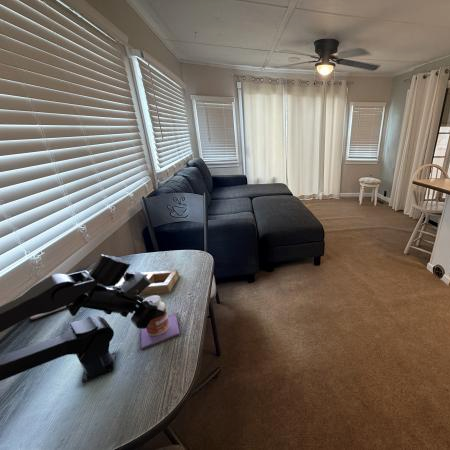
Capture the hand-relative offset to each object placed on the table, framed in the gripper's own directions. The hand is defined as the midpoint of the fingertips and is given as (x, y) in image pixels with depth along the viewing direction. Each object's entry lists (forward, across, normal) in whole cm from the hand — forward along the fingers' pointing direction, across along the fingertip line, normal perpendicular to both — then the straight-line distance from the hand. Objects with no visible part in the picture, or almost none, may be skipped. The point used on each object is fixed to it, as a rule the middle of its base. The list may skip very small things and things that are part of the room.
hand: (159, 309), depth 74 cm
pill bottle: (+4, 0, +6) cm, 7 cm away
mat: (+4, 0, +6) cm, 7 cm away
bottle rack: (+11, +29, -1) cm, 31 cm away
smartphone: (-6, +43, +17) cm, 47 cm away
